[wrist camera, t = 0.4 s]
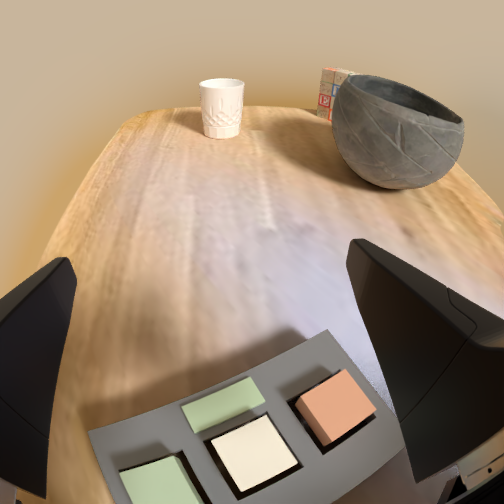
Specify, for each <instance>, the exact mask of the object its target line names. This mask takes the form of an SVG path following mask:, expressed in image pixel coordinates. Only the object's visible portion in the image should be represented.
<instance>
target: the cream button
mask: <svg viewBox="0 0 504 504" xmlns="http://www.w3.org/2000/svg"><path fill="white" fill-rule="evenodd" d="M211 442H212V444H213V445H214V447H215V449H216V451H217V452H218V454H219V456H220V458H221V459H222V461H223V463H224V465H225V466H226V468H227V470H228V471H229V473H230V475H231V476H232V478H233V480H234V481H235V483H236V484H237V486H238V488H239V489H240V491H241V492H242V491H245V490H247V489H249V488H251V487H253V486H255V485H257V484H259V483H262V482H264V481H266V480H267V479H269V478H271V477H273V476H275V475H277V474H279V473H281V472H283V471H285V470H286V469H288V468H290V467H292V466H294V465H295V464H297V463H298V462H297V461H296V459H295V458H294V456H293V455H292V453H291V452H290V450H289V449H288V447H287V446H286V444H285V443H284V441H283V440H282V438H281V437H280V435H279V434H278V432H277V431H276V429H275V428H274V426H273V425H272V423H271V422H270V420H269V418H268V417H267V415H265V416H263V417H261V418H259V419H257V420H255V421H253V422H251V423H249V424H247V425H245V426H243V427H240V428H238V429H236V430H234V431H232V432H230V433H227V434H225V435H223V436H221V437H218V438H216V439H214V440H211Z"/></svg>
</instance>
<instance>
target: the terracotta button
mask: <svg viewBox="0 0 504 504" xmlns="http://www.w3.org/2000/svg"><path fill="white" fill-rule="evenodd" d="M295 406H296V407H297V409H298V410H299V412H300V413H301V415H302V416H303V418H304V419H305V420H306V422H307V423H308V425H309V426H310V428H311V429H312V431H313V432H314V433H315V435H316V436H317V438H318V439H319V440H320V442H321V443H322V445H323V446H325V445H327V444H329V443H331V442H333V441H334V440H336V439H337V438H339V437H340V436H341V435H343V434H344V433H346V432H347V431H349V430H350V429H351V428H353V427H354V426H356V425H357V424H358V423H360V422H361V421H362V420H364V419H365V418H366V417H368V416H369V415H370V414H372V413H373V412H374V411H376V410H377V409H376V408H375V407H374V405H373V404H372V403H371V402H370V400H369V399H368V398H367V396H366V395H365V394H364V392H363V391H362V390H361V388H360V387H359V386H358V385H357V383H356V382H355V381H354V379H353V378H352V377H351V375H350V374H349V373H348V372H347V370H346V369H344V370H342V371H341V372H339V373H338V374H336V375H335V376H333V377H332V378H330V379H328V380H327V381H325V382H323V383H322V384H320V385H319V386H317V387H315V388H314V389H312V390H310V391H308V392H307V393H305V394H303V395H302V396H300V398H299V399H298V401H297V402H296V404H295Z"/></svg>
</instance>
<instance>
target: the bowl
mask: <svg viewBox="0 0 504 504" xmlns="http://www.w3.org/2000/svg"><path fill="white" fill-rule="evenodd" d="M332 127H333V129H332V130H333V134H334V139H335V142H336V145H337V148H338V150H339V152H340V154H341V155H342V157H343V159H344V160H345V162H346V163H347V164H348V166H349V167H350V168H351V169H352V170H353V171H354V172H355V173H357V174H358V175H359V176H360V177H361V178H363V179H364V180H366V181H368V182H370V183H373V184H375V185H378V186H380V187H384V188H389V189H414V188H421V187H425V186H427V185H429V184H431V183H433V182H436V181H437V180H439V179H440V178H442V177H443V176H444V175H445V174H447V173H448V171H449V170H450V169H451V168H452V167H453V165H454V164H455V162H456V161H457V159H458V156H459V154H460V151H461V148H462V144H463V137H464V122H463V119H462V118H461V117H459V116H458V115H456V114H455V113H454V112H453V111H451V110H450V109H448V108H447V107H445V106H444V105H443V104H441V103H439V102H438V101H436V100H434V99H433V98H431V97H429V96H427V95H425V94H423V93H421V92H419V91H417V90H415V89H413V88H411V87H408V86H406V85H404V84H401V83H398V82H395V81H392V80H388V79H385V78H381V77H377V76H370V75H350V76H348V77H347V78H346V79H345V80H344V81H343V83H342V84H341V86H340V88H339V89H338V91H337V93H336V96H335V99H334V103H333V108H332Z"/></svg>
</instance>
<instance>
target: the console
mask: <svg viewBox="0 0 504 504" xmlns="http://www.w3.org/2000/svg"><path fill="white" fill-rule="evenodd" d="M344 369H346V370H347V372H348V373H349V374H350V375H351V377H352V378H353V379H354V381H355V382H356V383H357V385H358V386H359V387H360V388H361V390H362V391H363V392H364V394H365V395H366V396H367V398H368V399H369V400H370V402H371V403H372V404H373V405H374V407H375V408H376V409H377V410H376V411H374V412H373V413H372V414H370V415H369V416H368V417H366V418H365V421H366V422H367V423H368V424H367V425H366V426H364V427H363V428H362V429H360V430H359V431H357V432H356V433H355V434H353V435H352V436H351V437H349V438H348V439H346V440H345V441H343V442H342V443H341V444H339V445H338V446H336V447H335V448H333V449H332V450H330V451H329V452H327V453H325V454H324V455H322V453H321V452H320V451H319V449H318V448H317V446H316V445H315V443H314V442H313V441H312V439H311V438H310V436H309V435H308V433H307V432H306V431H305V429H304V428H303V426H302V425H301V423H300V422H299V420H298V419H297V417H296V416H295V414H294V413H293V412H292V410H291V409H290V407H289V406H288V404H287V403H286V402H288V401H290V400H292V399H293V398H295V397H297V396H299V395H300V394H302V393H304V392H306V391H307V390H309V389H311V388H312V387H314V386H316V385H317V384H319V383H321V382H322V381H324V380H326V379H327V378H329V377H330V376H332V377H333V376H335V375H336V374H338V373H339V372H341V371H342V370H344ZM265 413H267V415H268V417H269V418H270V420H271V421H272V423H273V424H274V426H275V428H276V429H277V431H278V432H279V434H280V435H281V437H282V438H283V440H284V441H285V443H286V444H287V446H288V447H289V449H290V450H291V452H292V453H293V455H294V456H295V458H296V459H297V460H298V462H299V463H300V465H301V466H302V468H301V469H299V470H298V471H296V472H294V473H292V474H291V475H289V476H287V477H285V478H283V479H281V480H279V481H278V482H276V483H274V484H272V485H270V486H268V487H266V488H264V489H262V490H260V491H258V492H256V493H254V494H251V495H249V496H247V497H245V498H243V499H240V500H237V499H236V497H235V496H234V494H233V493H232V491H231V489H230V488H229V486H228V484H227V483H226V481H225V480H224V478H223V476H222V475H221V473H220V471H219V469H218V468H217V466H216V464H215V462H214V461H213V459H212V457H211V455H210V454H209V452H208V450H207V448H206V446H205V444H204V443H203V442H205V441H207V440H210V439H212V438H214V437H217V436H219V435H221V434H223V433H226V432H228V431H230V430H232V429H234V428H237V427H239V426H241V425H243V424H245V423H247V422H249V421H251V420H253V419H255V418H257V417H259V416H261V415H263V414H265ZM87 432H88V435H89V438H90V441H91V444H92V447H93V450H94V452H95V455H96V458H97V461H98V463H99V466H100V468H101V471H102V473H103V476H104V478H105V481H106V483H107V485H108V488H109V490H110V492H111V495H112V497H113V499H114V501H115V503H116V504H133V502H132V500H131V498H130V496H129V494H128V492H127V490H126V488H125V486H124V483H123V481H122V479H121V477H120V474H119V473H121V472H124V470H125V469H129V468H132V467H135V466H139V465H142V464H145V463H148V462H151V461H154V460H157V459H160V458H163V457H166V456H169V455H171V454H174V453H177V452H180V451H182V450H183V452H184V454H185V455H186V457H187V459H188V461H189V463H190V465H191V467H192V469H193V471H194V472H195V474H196V476H197V478H198V480H199V481H200V483H201V485H202V487H203V488H204V490H205V492H206V493H207V495H208V497H209V498H210V500H211V502H212V503H213V504H331V503H332V502H334V501H335V500H337V499H338V498H340V497H341V496H343V495H344V494H346V493H347V492H349V491H350V490H352V489H353V488H354V487H356V486H357V485H359V484H360V483H361V482H363V481H364V480H365V479H367V478H368V477H369V476H371V475H372V474H373V473H374V472H376V471H377V470H378V469H379V468H381V467H382V466H383V465H384V464H385V463H387V462H388V461H389V460H390V459H391V458H393V457H394V456H395V455H396V454H397V453H398V452H399V451H401V450H402V449H403V448H404V447H405V446H406V445H405V442H404V438H403V435H402V432H401V428H400V423H399V421H398V419H397V418H396V416H395V415H394V414H393V413H392V411H391V410H390V409H389V407H388V406H387V405H386V403H385V402H384V401H383V400H382V398H381V397H380V396H379V394H378V393H377V392H376V391H375V389H374V388H373V387H372V385H371V384H370V383H369V382H368V380H367V379H366V378H365V376H364V375H363V374H362V373H361V371H360V370H359V369H358V368H357V366H356V365H355V364H354V362H353V361H352V360H351V359H350V357H349V356H348V355H347V353H346V352H345V351H344V350H343V348H342V347H341V346H340V345H339V343H338V342H337V341H336V339H335V338H334V337H333V336H332V334H331V333H330V332H329V331H328V329H327V330H325V331H323V332H321V333H319V334H318V335H316V336H314V337H312V338H310V339H309V340H307V341H305V342H303V343H301V344H299V345H297V346H295V347H293V348H292V349H290V350H288V351H286V352H284V353H282V354H280V355H278V356H276V357H274V358H272V359H270V360H268V361H266V362H264V363H262V364H260V365H258V366H256V367H254V368H251V369H249V370H247V371H245V372H243V373H241V374H239V375H236V376H234V377H232V378H230V379H228V380H225V381H223V382H221V383H219V384H216V385H214V386H212V387H209V388H207V389H205V390H202V391H200V392H198V393H195V394H193V395H190V396H188V397H185V398H183V399H180V400H178V401H175V402H173V403H170V404H167V405H165V406H162V407H159V408H157V409H154V410H151V411H149V412H146V413H143V414H140V415H137V416H134V417H131V418H128V419H125V420H122V421H119V422H116V423H113V424H110V425H107V426H104V427H100V428H97V429H94V430H90V431H87Z"/></svg>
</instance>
